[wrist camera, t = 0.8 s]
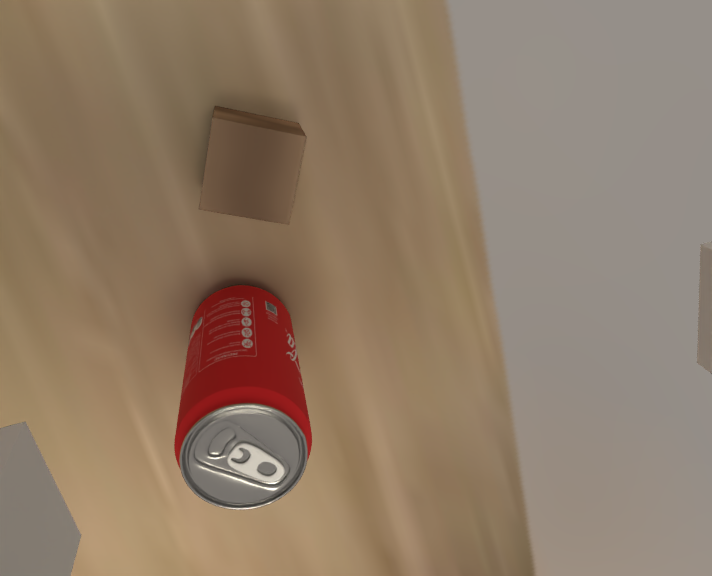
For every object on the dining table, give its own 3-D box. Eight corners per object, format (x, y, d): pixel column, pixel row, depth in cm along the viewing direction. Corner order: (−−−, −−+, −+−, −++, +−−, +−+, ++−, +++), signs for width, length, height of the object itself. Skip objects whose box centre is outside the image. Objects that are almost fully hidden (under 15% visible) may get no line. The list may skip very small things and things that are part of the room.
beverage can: (228, 259, 34) (225, 374, 23) (309, 310, 36) (341, 439, 25) (172, 334, 35) (144, 479, 24) (254, 381, 37) (262, 535, 26)
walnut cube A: (203, 187, 32) (198, 209, 29) (215, 105, 31) (212, 117, 28) (283, 202, 33) (289, 224, 30) (298, 123, 32) (306, 136, 28)
